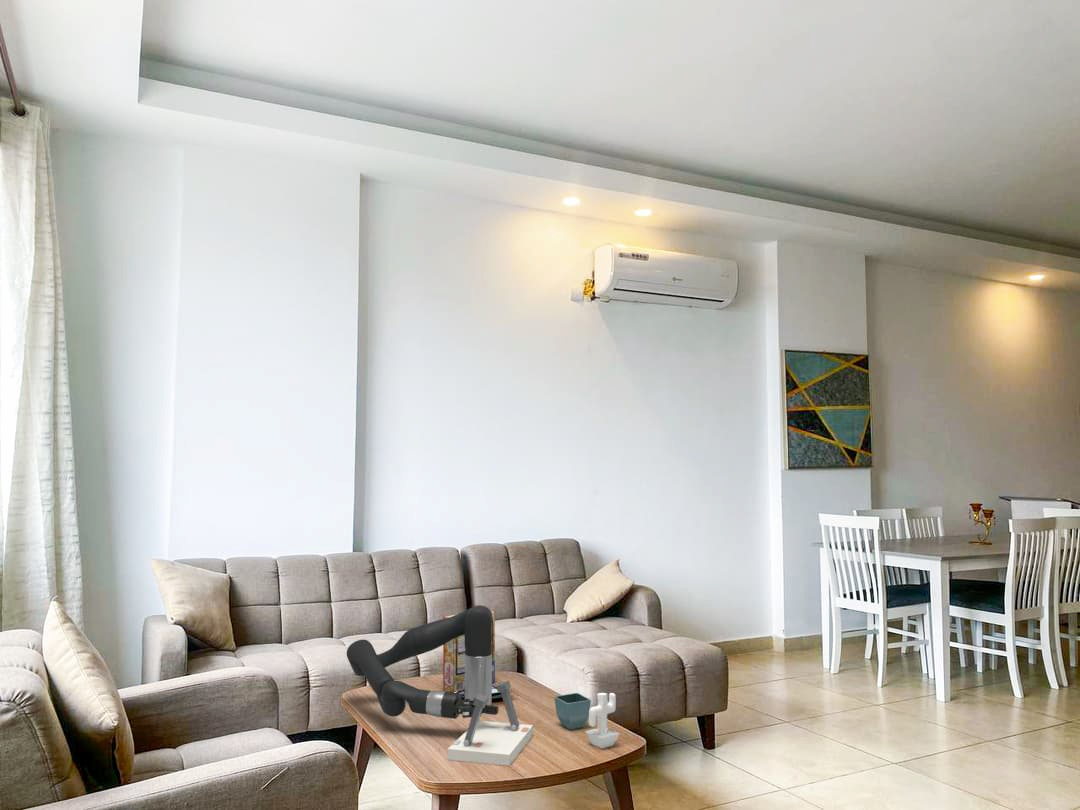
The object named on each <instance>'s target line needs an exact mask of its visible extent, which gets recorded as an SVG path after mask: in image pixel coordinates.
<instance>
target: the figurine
mask: <svg viewBox="0 0 1080 810" xmlns="http://www.w3.org/2000/svg"><path fill="white" fill-rule="evenodd" d="M596 696H597V697H596V698H597V705H596V706H592V707H591V706H590V710H589V717H588V725H589V726H590V727H596V723H597V728H594V729H590V730H589V729H588V730H586V731H584V732H585V734H586V736H587V737H588V739H589V741H590V743H591V745H593V746H594V747H597V748H600V749H605V748H610V747H612V746H614V744H615V742H616V741H617V739H618V737H619V735H620V732H617V731H615V730H612V729H610V728H608V714H612V713H615V711H616V707H617V702H616V701H617V698H616V697H617V695H616V694H615V693H614V692H610V693H609V694H608V693H606V692H599V693H597V695H596ZM596 720H597V722H596Z"/></svg>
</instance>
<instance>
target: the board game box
mask: <svg viewBox="0 0 1080 810" xmlns="http://www.w3.org/2000/svg"><path fill="white" fill-rule="evenodd" d="M490 611H491V612H492V616H493V620H492V685H493V684H496V633H495V632H496V630H495V627H496V624H495V622H496V620H495V619H496V618H495V617H496V615H495V614H496V611H495V610H492V609H490ZM455 615H456V614H451V615H446V616H443V618H442V619H446V618H449V617H452V616H455ZM442 646H443V648H442V649H443V650H442V651H443V654H442V655H443V657H442V660H443V662H442V663H443V664H442V670H443V671H442V672H443V673H442V674H443V675H442V676H443V677H442V678H443V679H442V682H443V683H442V685H443V688H442V691H446V692H456V691H461V690H465V635H462V636H459V637H456V638H454V639H452V640H451V641H449V642H447V643H446V644H444V645H442Z"/></svg>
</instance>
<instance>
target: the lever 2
mask: <svg viewBox="0 0 1080 810" xmlns="http://www.w3.org/2000/svg"><path fill="white" fill-rule="evenodd" d="M510 689H511V682H510V679H509V680H506V681H503V682H499V683H498V684H497V685H496V690H497V693H498V694H500V695H501V697H502V700H503V705H504V708H505V711H506V715H507V718H508V719H507V720H508V723H510V725H511V730H512V731H515V730H516V729H517V728H518V727H519V724H520V722H519V720H518V716H517V712H516V710H515V709H516V708H515V706H514V702H513V700H512V699H513V698H512V695H511V692H510Z"/></svg>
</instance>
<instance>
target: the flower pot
mask: <svg viewBox="0 0 1080 810" xmlns="http://www.w3.org/2000/svg"><path fill="white" fill-rule="evenodd" d="M553 697H554V704H555V705H554V706H555V712H556V715H557V718H558V721H559V722H560V724H561V726H562V727H564V728H566V729H567V730H575V729H580V728H584V727H585V725H586V724H587V722H588V721H589V710H590V708H591V704H592V703H591V702H592V699H590V698H589V697H586V696H584V695H582V694H581V693H579V692H573V693H569V694H568V693H567V694H561V695H556V696H553Z"/></svg>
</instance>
